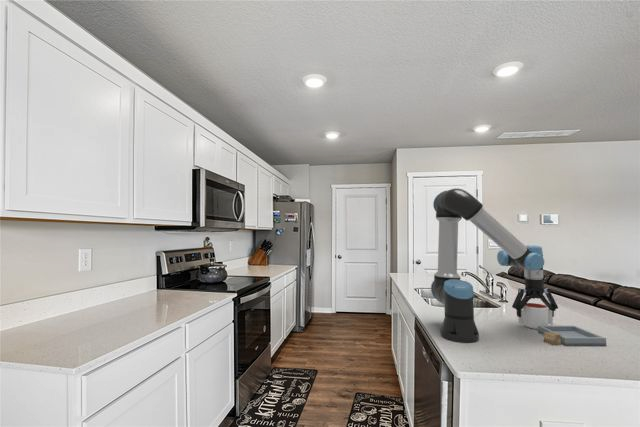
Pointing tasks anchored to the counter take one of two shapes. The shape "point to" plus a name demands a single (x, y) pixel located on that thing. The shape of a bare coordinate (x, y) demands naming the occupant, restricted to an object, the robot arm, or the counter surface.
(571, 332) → the tray
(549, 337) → the oak block
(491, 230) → the robot arm
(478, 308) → the counter surface
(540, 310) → the cup
